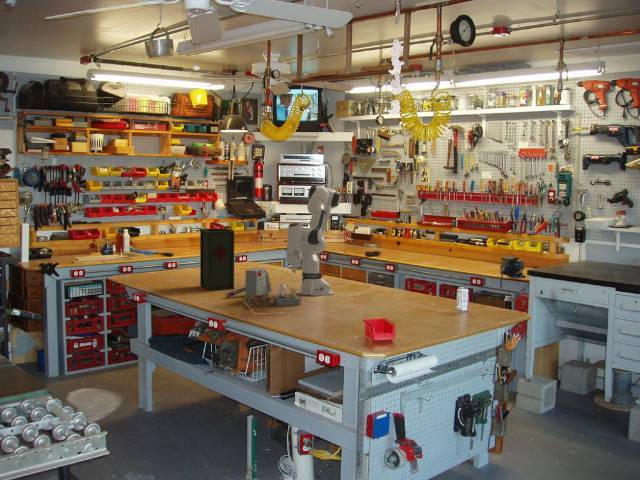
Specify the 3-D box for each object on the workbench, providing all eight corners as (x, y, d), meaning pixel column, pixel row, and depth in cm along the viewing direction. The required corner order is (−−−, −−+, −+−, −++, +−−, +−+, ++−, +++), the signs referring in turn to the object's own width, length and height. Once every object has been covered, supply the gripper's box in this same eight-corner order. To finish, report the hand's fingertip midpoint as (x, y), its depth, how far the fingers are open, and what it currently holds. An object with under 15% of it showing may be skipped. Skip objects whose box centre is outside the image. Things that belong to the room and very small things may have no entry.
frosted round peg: (284, 303, 396) (284, 283, 394) (285, 304, 392) (285, 284, 391) (279, 303, 395) (279, 284, 393) (280, 304, 392) (280, 285, 390)
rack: (267, 304, 396) (267, 294, 396) (270, 307, 387) (270, 298, 386) (247, 305, 393) (248, 295, 392) (250, 308, 383) (250, 298, 383)
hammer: (226, 285, 408) (267, 270, 423) (221, 283, 415) (261, 268, 430) (231, 308, 412) (272, 292, 427) (226, 305, 419) (266, 290, 434)
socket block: (296, 303, 401) (296, 295, 401) (300, 306, 392) (300, 298, 391) (273, 304, 397) (274, 296, 397) (277, 307, 388) (277, 299, 387)
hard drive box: (256, 303, 399) (256, 271, 397) (244, 302, 401) (244, 270, 399) (266, 298, 413) (266, 267, 411) (255, 297, 416) (255, 266, 414)
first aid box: (225, 284, 460) (226, 228, 456) (234, 289, 444) (234, 230, 439) (200, 286, 452) (200, 228, 448) (207, 290, 436) (207, 231, 431)
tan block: (294, 297, 398) (295, 288, 397) (296, 299, 393) (297, 289, 393) (290, 297, 397) (290, 288, 396) (292, 299, 392) (292, 289, 392)
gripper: (303, 252, 383) (303, 275, 384) (295, 247, 402) (294, 270, 404) (293, 252, 381) (292, 275, 382) (285, 248, 401) (285, 270, 402)
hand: (293, 272), depth 393 cm, fingers closed
